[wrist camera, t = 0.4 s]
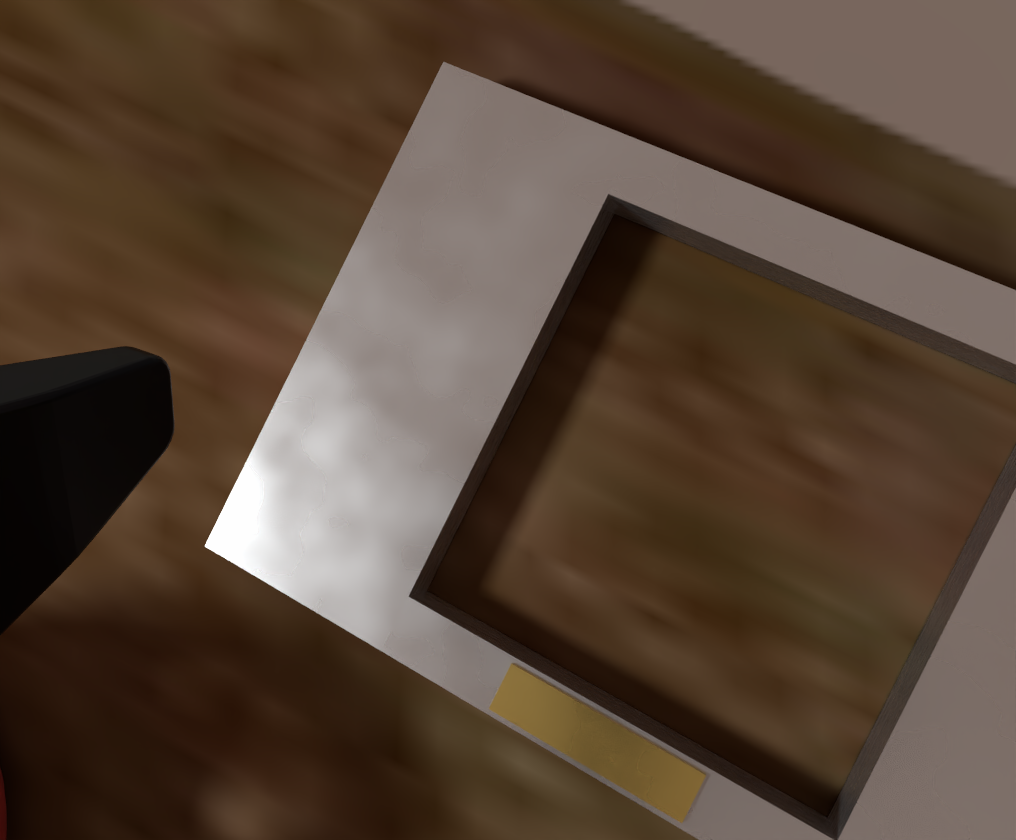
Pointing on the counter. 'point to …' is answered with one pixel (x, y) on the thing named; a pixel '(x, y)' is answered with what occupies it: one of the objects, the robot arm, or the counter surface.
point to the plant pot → (2, 810)
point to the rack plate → (494, 401)
